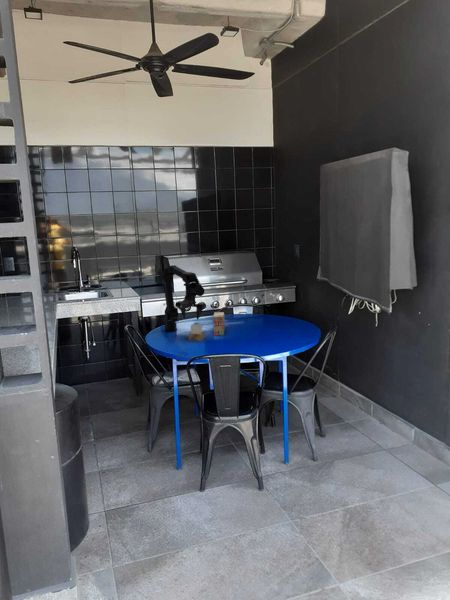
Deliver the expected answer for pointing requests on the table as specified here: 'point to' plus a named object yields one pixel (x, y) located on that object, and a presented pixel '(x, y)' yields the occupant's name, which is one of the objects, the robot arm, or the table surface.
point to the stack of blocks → (219, 323)
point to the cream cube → (196, 328)
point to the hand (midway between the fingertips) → (191, 318)
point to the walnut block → (196, 337)
